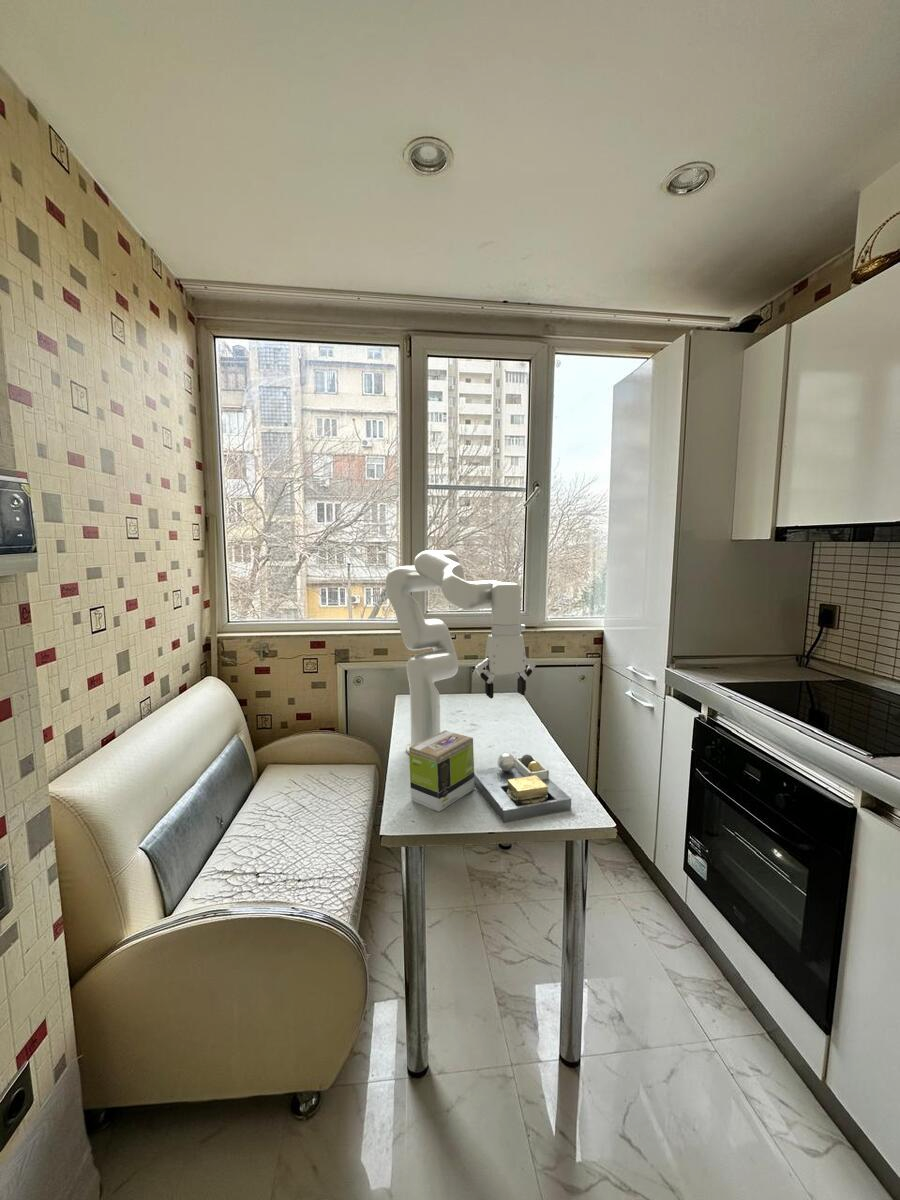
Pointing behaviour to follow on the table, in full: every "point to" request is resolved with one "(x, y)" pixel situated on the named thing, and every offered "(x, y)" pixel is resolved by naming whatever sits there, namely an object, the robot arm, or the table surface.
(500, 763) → the steel ball
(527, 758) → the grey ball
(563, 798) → the bearing plate
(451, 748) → the tea box
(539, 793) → the brass cover
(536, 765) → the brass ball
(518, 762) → the parts tray
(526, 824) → the table surface
